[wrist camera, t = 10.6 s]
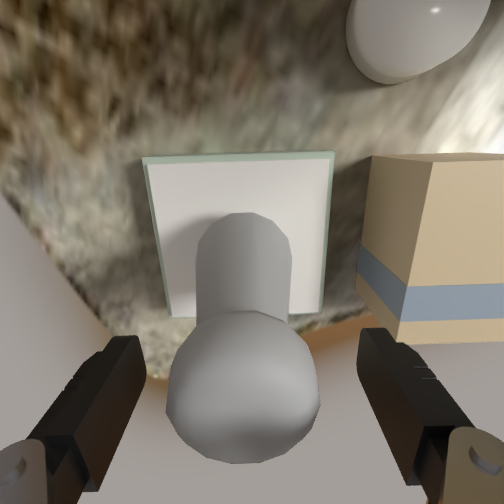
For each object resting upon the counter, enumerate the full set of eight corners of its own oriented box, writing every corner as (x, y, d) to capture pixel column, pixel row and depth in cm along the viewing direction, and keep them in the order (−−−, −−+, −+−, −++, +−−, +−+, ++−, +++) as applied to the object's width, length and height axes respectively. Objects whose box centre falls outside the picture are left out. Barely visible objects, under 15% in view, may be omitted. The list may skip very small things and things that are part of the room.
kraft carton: (469, 152, 20) (579, 157, 13) (435, 286, 24) (507, 341, 17) (370, 155, 20) (432, 162, 13) (354, 289, 24) (394, 345, 17)
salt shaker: (275, 288, 20) (320, 507, 8) (197, 276, 20) (121, 490, 8) (295, 212, 18) (395, 354, 6) (208, 195, 18) (128, 316, 5)
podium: (324, 149, 19) (336, 151, 17) (314, 295, 24) (323, 316, 21) (154, 155, 19) (139, 157, 17) (177, 300, 24) (168, 321, 21)
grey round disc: (340, -28, 16) (360, -70, 13) (452, -56, 16) (498, -106, 13) (350, 94, 18) (370, 80, 15) (451, 71, 17) (490, 53, 15)
